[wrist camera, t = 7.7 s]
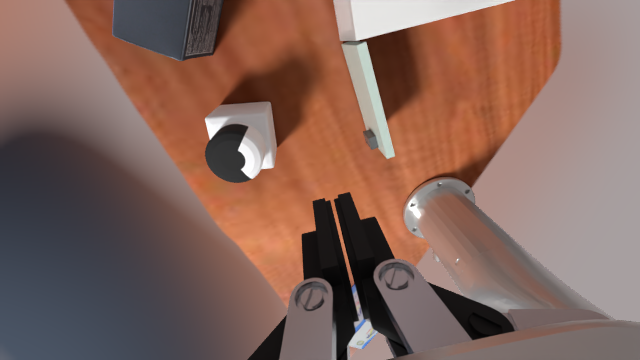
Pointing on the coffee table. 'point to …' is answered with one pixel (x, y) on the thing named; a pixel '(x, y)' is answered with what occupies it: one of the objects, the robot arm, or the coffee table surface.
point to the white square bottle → (240, 140)
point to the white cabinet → (396, 14)
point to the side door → (368, 97)
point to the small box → (169, 25)
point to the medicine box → (361, 327)
